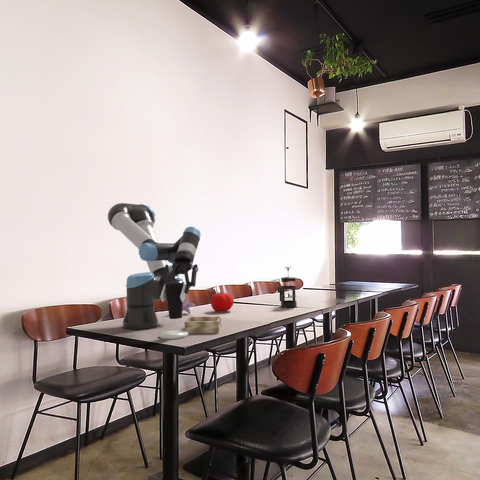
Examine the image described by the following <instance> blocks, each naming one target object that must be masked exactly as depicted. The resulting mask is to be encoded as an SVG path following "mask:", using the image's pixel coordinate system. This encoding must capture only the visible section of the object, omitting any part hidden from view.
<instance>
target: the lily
mask: <svg viewBox="0 0 480 480" xmlns="http://www.w3.org/2000/svg"><path fill="white" fill-rule="evenodd" d="M195 306H196V304H195V303H193V302H189V301H188V298H187V297H185V299H184V302H183V307H182V312H186V313H189V314H191V310H190V308H192V307H195Z"/></svg>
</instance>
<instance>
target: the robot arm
mask: <svg viewBox="0 0 480 480" xmlns="http://www.w3.org/2000/svg"><path fill="white" fill-rule="evenodd" d="M155 217H156V214H155V210H153V208H152V207H151V206H149V205H147V204H144V203H143V204H142V203H140V204H137V203H135V204H134V203H127V202H126V203H125V202H120V203H116V204H114V205H113V206H111V207H110V208H109V210H108V213H107V220H108V223H109V225H110V226H111V227H112V228H113V229H115V230H117V231H119V232H120V233H122V234H123V236H125V238H126V239H128V241H130V242H131V243H132V244H133V245H134V246H135V248H137V249H138V256H139V258H140V260H142V261H144V262H146V265H147V267H148V269H149V271H148V272H147V271H146V272H145V271H144V272H138V273H134V274H130V275H128V276H127V278H126V285H125V287H126V311H125V315H124V316H123V320H122V328H123V329H126V330H127V329H128V330H143V329H144V330H145V329H153V328H156V327H158V326H159V320H158V316H157V314H156V311H155V301H161V302H162V303H163V302H165V300H166V301H167V296H166V288H165V284H164V283H166V282H167V281H169V280H173V266H175V279H177V280H181V281H183V282H184V280H185V283H184V285H183V288H182V292H181V295H180V299H181V301H182V302H184V299H185V298H186V295H187V294H189V291H190V288H191V287H192V288H194V287H196V283H197V274H198V271H199V266H198V264H197V263H196V264H194V259H195V256H196V253H197V249H198V246H199V243H200V240H201V232H200V229H198V228H196V227H195V226H187V227H186V228H185V229H184V231H183V232H182V235H181V236H180V238H179V239H178V240H176V241H175V242H173V243H172V242H171V243H167V242H166V243H165V242H163V243H162V242H161V243H160V242H159V241H158V239H157V237H156V235H155V234H156V233H155V231H154V229H153V228H154V226H155V225H154V224H155V222H156V218H155ZM167 262H168V263H169V264H171V265H168V263H167ZM193 264H194V265H193ZM190 271H191V277H190V278H189V272H190ZM181 275H184V280H183V277H182V276H181Z"/></svg>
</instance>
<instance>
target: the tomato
mask: <svg viewBox="0 0 480 480" xmlns="http://www.w3.org/2000/svg"><path fill="white" fill-rule="evenodd" d="M234 301H235V300H234V297H233V296H232V294H230V293H227V292H223V291H220V292H217V293H214V294H213V295H212V297H211V300H210V306H211V308H212V309H213V311H215V312H217V313H222V312H227V311H229V310H231V309H232V307H233V306H234Z"/></svg>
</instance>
